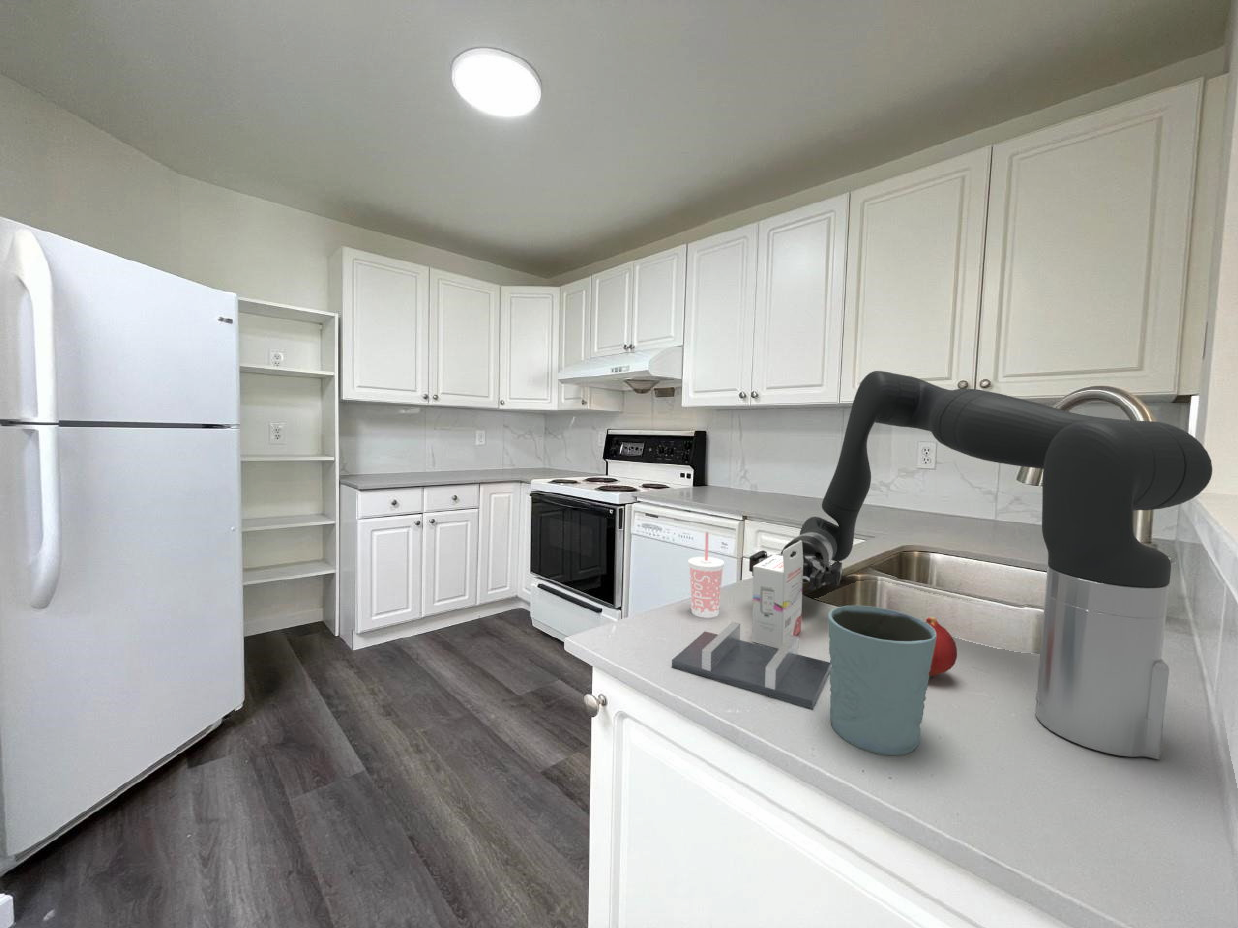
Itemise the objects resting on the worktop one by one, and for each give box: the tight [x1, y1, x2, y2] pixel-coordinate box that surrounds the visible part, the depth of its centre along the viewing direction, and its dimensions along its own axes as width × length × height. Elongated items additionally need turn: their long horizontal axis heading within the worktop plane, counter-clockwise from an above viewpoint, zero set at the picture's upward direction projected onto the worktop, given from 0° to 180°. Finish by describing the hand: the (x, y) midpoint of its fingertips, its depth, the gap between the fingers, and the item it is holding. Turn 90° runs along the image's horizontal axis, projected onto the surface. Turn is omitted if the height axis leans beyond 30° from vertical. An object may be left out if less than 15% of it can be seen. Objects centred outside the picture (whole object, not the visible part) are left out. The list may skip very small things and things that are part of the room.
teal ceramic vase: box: [827, 605, 937, 756], centre depth 54 cm, size 10×10×12 cm
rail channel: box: [671, 621, 831, 710], centre depth 68 cm, size 18×11×4 cm, turn 57°
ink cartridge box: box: [751, 540, 804, 650], centre depth 77 cm, size 9×5×15 cm, turn 143°
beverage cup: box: [687, 531, 725, 619], centre depth 87 cm, size 6×6×14 cm
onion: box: [925, 616, 958, 678], centre depth 66 cm, size 6×6×8 cm
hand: (783, 578), depth 79 cm, fingers open, 8 cm apart
